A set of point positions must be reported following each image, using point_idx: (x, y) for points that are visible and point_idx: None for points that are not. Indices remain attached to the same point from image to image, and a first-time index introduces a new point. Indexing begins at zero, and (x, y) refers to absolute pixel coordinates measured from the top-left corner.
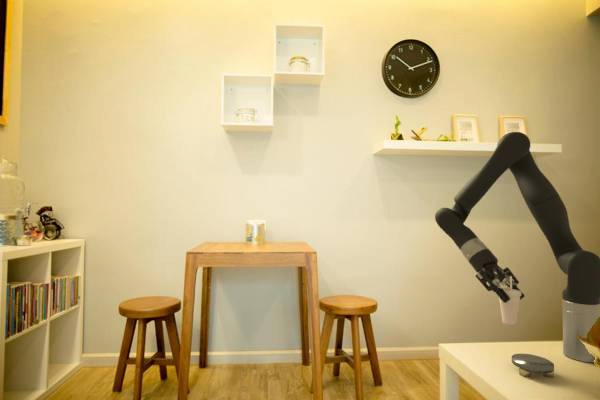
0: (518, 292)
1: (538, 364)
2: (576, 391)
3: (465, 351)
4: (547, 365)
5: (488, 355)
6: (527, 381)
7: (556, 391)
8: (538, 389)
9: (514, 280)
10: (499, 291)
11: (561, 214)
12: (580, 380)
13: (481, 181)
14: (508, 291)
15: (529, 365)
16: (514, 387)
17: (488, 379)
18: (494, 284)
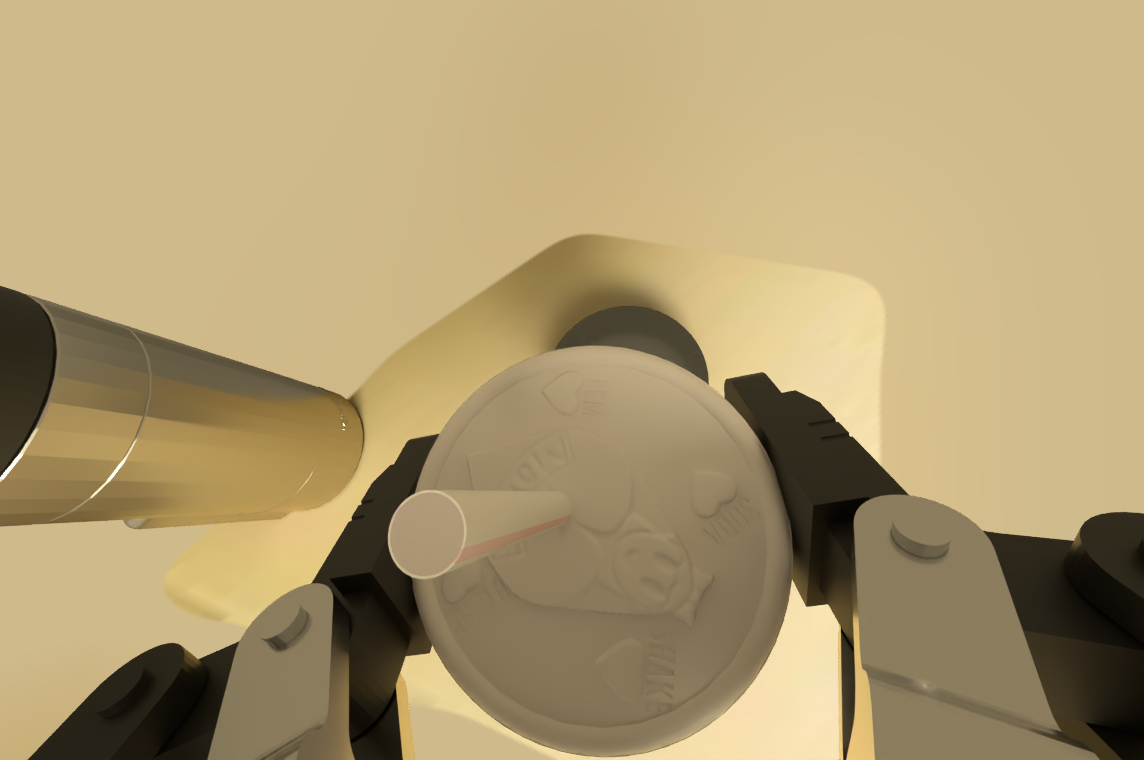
0: (538, 382)
1: (632, 345)
2: (608, 252)
3: (767, 691)
4: (603, 329)
5: None
6: (714, 338)
7: (674, 263)
8: (725, 285)
9: (138, 752)
10: (888, 480)
11: None
12: (519, 304)
13: None
14: (642, 485)
15: (681, 345)
16: (806, 313)
17: (869, 387)
18: (1133, 582)
